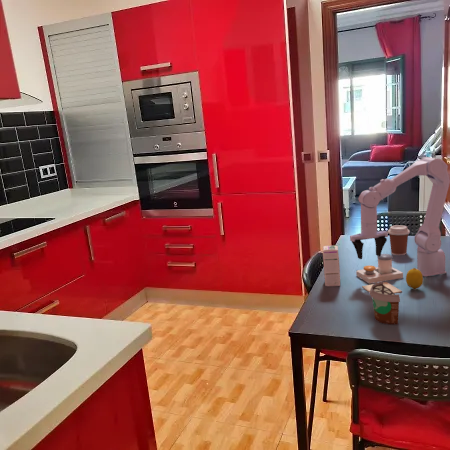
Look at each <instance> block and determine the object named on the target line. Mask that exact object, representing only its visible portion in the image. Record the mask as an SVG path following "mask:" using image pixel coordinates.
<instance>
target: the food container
mask: <svg viewBox="0 0 450 450" xmlns="http://www.w3.org/2000/svg"><path fill="white" fill-rule="evenodd" d="M383 282H384V281H382V282H376V283H372V284H373V285H372V284H371V285H372V287H371V290H370V293H369V295H370V297H371V298H372V306H373V307H372V309H373V315H374V319H375V321H376V322H378V323H381V324H384V325H388V326H389V325H392V326H395V325H396V326H397V325H399V312H400V310H399V309H400V302H401V298H400V293H397V294H396V293H395V294H394V293H393V292H392V291H391V290H390V289H389V288H387V287H385V286H384V285H383Z"/></svg>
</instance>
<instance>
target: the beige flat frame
mask: <svg viewBox="0 0 450 450" xmlns="http://www.w3.org/2000/svg"><path fill="white" fill-rule="evenodd" d="M375 267H376V266H375ZM355 273H356V277H358V278H360V279H361V280H363V281H364V282H366V283H367V284H368V285H371V284H375V283H378V282H388V281H393V280H397V279H404V272H402V271H401V270H399V269H397V268H395V267H393V266H392V273H388V274H383V275H382V274H380V273H378V266H377V267H376V269H375V270H374V275H366V270H364V268H363V269H359V270H356V272H355Z"/></svg>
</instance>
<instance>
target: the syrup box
mask: <svg viewBox="0 0 450 450" xmlns="http://www.w3.org/2000/svg"><path fill="white" fill-rule="evenodd" d="M322 258H323V261H322V262H323V272H324V273H323V275H324V286H325V287H340V286H341V270H340V267H341V266H340V257H339V246H338V245H335V244H334V245H324V246H322Z"/></svg>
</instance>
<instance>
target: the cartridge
mask: <svg viewBox="0 0 450 450" xmlns="http://www.w3.org/2000/svg"><path fill="white" fill-rule="evenodd" d="M376 256H377V255H376ZM377 267H378V273H380V274H382V275H383V274H388V273H392V267H393V254H391V253H390V254H388V253H381V256H377Z"/></svg>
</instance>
